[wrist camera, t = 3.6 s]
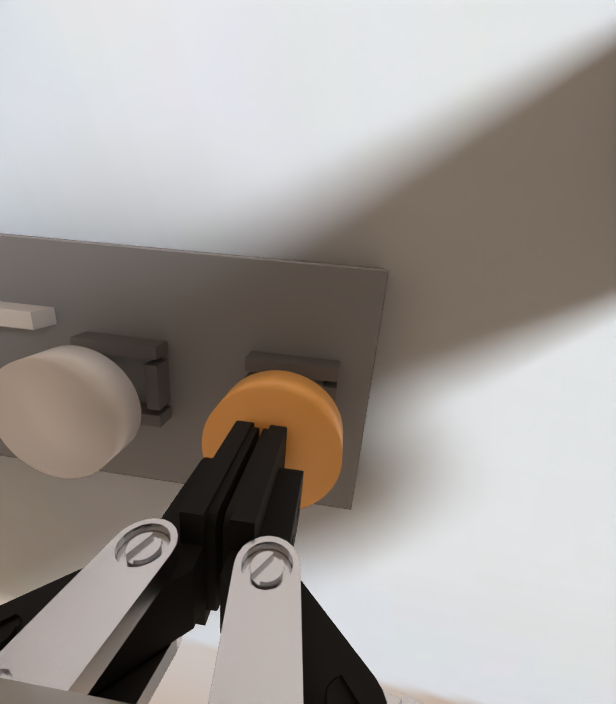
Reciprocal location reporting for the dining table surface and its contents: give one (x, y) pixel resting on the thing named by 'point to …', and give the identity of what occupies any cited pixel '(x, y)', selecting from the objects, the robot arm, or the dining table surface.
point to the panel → (195, 334)
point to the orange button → (286, 425)
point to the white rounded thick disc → (67, 410)
